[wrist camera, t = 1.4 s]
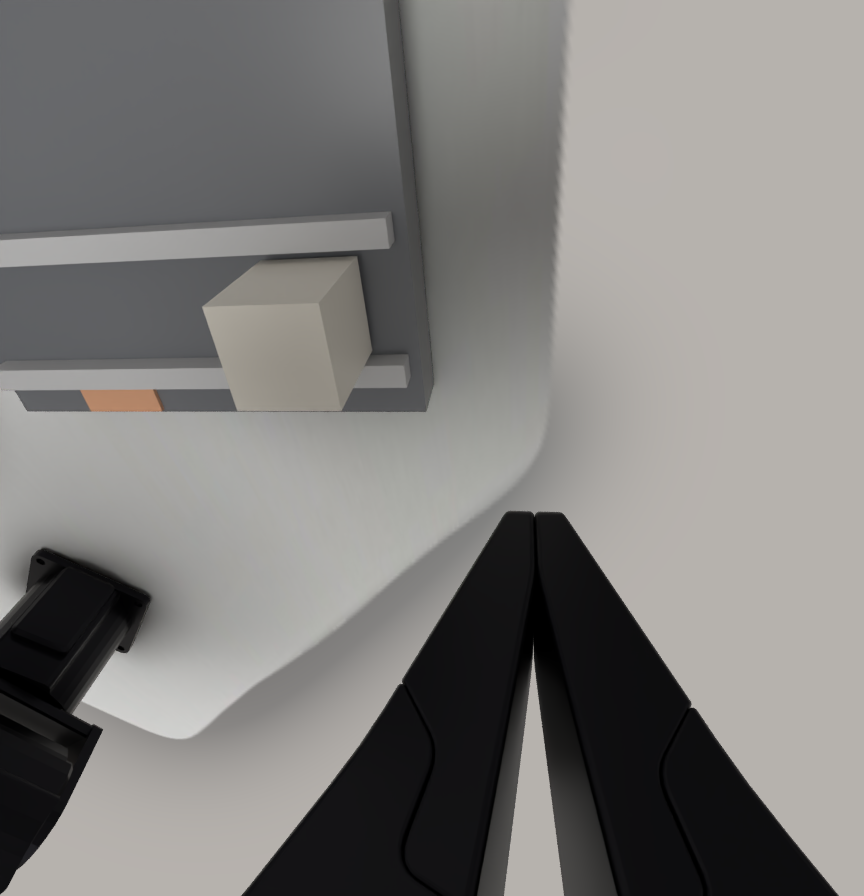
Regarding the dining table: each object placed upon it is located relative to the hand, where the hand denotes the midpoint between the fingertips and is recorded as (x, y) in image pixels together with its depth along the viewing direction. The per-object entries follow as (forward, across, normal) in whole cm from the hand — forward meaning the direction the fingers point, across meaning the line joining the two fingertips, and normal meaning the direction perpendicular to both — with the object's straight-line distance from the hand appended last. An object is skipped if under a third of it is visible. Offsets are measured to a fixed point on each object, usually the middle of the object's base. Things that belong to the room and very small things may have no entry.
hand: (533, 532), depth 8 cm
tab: (+10, +6, 0) cm, 12 cm away
